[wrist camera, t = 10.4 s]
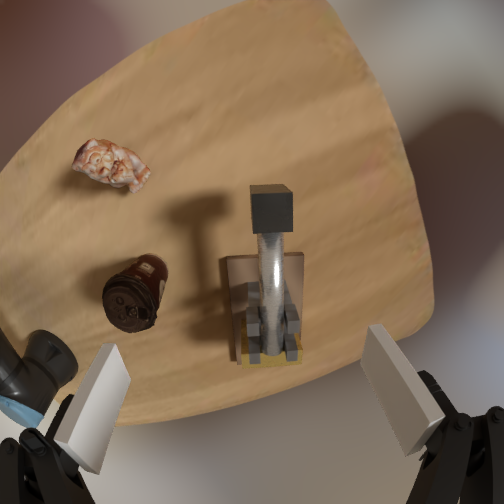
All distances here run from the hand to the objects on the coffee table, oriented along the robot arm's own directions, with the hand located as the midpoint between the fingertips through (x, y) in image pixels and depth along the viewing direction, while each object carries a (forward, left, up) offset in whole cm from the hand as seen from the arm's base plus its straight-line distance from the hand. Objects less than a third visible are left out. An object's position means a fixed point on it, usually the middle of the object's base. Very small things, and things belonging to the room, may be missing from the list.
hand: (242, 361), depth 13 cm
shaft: (+3, -5, -23) cm, 24 cm away
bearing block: (+3, -17, -31) cm, 35 cm away
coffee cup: (-16, -8, -31) cm, 36 cm away
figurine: (-16, +10, -31) cm, 36 cm away
